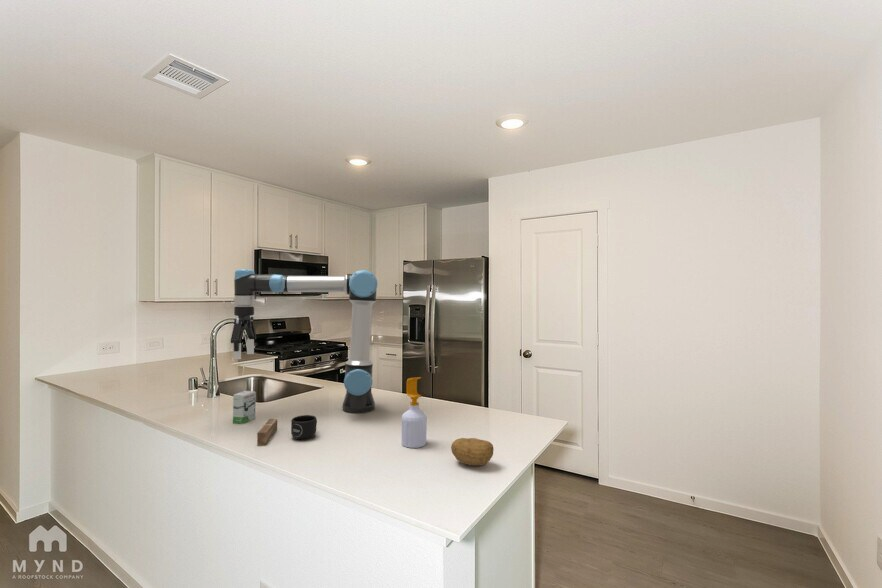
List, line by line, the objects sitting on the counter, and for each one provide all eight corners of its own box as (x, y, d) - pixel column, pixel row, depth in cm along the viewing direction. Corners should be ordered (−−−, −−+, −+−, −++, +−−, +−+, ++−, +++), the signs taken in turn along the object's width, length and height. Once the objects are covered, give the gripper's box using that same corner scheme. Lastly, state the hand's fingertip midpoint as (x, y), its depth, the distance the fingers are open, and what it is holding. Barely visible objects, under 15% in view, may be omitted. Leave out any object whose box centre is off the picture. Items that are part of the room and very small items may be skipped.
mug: (306, 443, 148) (306, 423, 148) (285, 439, 151) (286, 420, 151) (325, 432, 160) (326, 414, 160) (306, 429, 163) (306, 411, 163)
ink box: (242, 424, 168) (242, 395, 168) (232, 423, 169) (232, 394, 169) (256, 418, 177) (256, 390, 177) (246, 417, 178) (246, 390, 178)
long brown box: (277, 430, 161) (277, 418, 161) (266, 445, 146) (266, 431, 146) (269, 430, 161) (269, 418, 161) (257, 445, 145) (257, 432, 145)
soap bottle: (407, 450, 143) (408, 380, 143) (397, 441, 151) (398, 375, 151) (430, 446, 147) (431, 377, 147) (419, 437, 155) (420, 373, 155)
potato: (456, 455, 139) (456, 431, 139) (496, 462, 134) (497, 437, 134) (446, 466, 130) (446, 441, 130) (489, 474, 124) (489, 448, 124)
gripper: (246, 305, 184) (246, 352, 184) (221, 307, 159) (221, 361, 159) (264, 305, 184) (263, 352, 184) (241, 307, 159) (241, 361, 159)
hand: (244, 356), depth 171 cm, fingers open, 13 cm apart
